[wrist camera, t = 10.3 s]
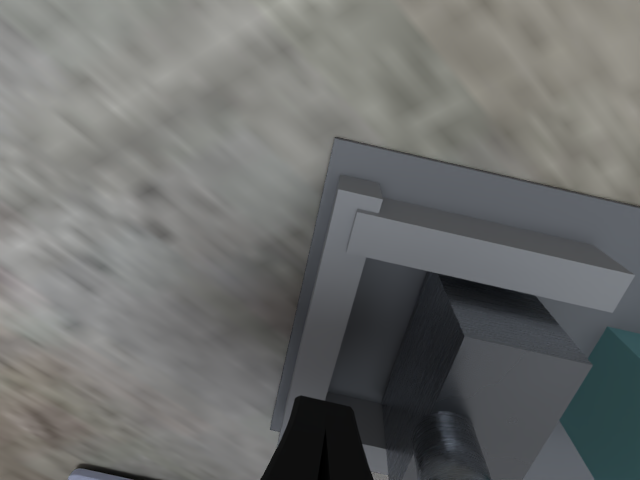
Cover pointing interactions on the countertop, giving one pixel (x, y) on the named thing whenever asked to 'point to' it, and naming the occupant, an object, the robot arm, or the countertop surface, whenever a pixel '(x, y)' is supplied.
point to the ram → (476, 383)
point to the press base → (452, 260)
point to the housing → (609, 409)
